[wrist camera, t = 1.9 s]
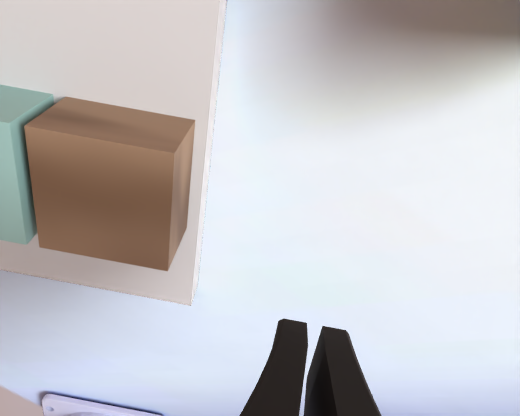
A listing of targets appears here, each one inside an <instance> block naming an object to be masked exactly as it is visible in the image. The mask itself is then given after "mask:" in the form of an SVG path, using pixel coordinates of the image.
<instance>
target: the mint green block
mask: <svg viewBox="0 0 520 416" xmlns="http://www.w3.org/2000/svg"><path fill="white" fill-rule="evenodd" d="M53 105H54V97H53V94H50V93H44V92H39V91H33V90H28V89H22V88H17V87H11V86H6V85H0V240H3V241H8V242H13V243H19V244H24V245H27V244H28V243H29V242H30V241H31V240H32V238H33V237H34V236H35V235H36V234H37V233H38V232H37V224H36V216H35V208H34V200H33V192H32V184H31V176H30V168H29V160H28V152H27V144H26V136H25V128H24V126H25V125H26V124H28V123H29V122H30V121H32V120H33V119H35V118H36V117H38V116H39V115H40V114H42V113H43V112H45V111H46V110H48V109H49V108H50V107H52V106H53Z"/></svg>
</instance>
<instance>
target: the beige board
mask: <svg viewBox="0 0 520 416" xmlns="http://www.w3.org/2000/svg"><path fill="white" fill-rule="evenodd" d="M226 4H227V0H0V85H6V86H11V87H17V88H22V89H28V90H33V91H39V92H44V93H50V94H53V97H54V105H55V104H56V103H58V102H59V101H60V100H62V99H63V98H65V97H72V98H77V99H83V100H88V101H94V102H99V103H105V104H110V105H116V106H121V107H127V108H132V109H138V110H143V111H149V112H154V113H160V114H165V115H171V116H176V117H182V118H187V119H193V120H195V131H194V143H193V156H192V169H191V181H190V194H189V206H188V219H187V229H186V231H185V233H184V235H183V238H182V240H181V242H180V245H179V247H178V249H177V252H176V254H175V256H174V258H173V261H172V263H171V265H170V268H169V270H168V271H163V270H157V269H152V268H147V267H141V266H136V265H131V264H125V263H120V262H115V261H109V260H104V259H99V258H93V257H88V256H83V255H77V254H72V253H67V252H61V251H56V250H51V249H45V248H40V247H39V240H38V233H37V234H36V235H35V236H34V237H33V238H32V240H31V241H30V242H29V243H28V244H27V245H24V244H19V243H13V242H8V241H3V240H0V270H4V271H10V272H15V273H20V274H26V275H31V276H36V277H42V278H47V279H52V280H57V281H63V282H68V283H73V284H79V285H84V286H89V287H95V288H100V289H105V290H110V291H116V292H121V293H126V294H132V295H137V296H142V297H147V298H153V299H158V300H163V301H169V302H174V303H179V304H185V305H190V306H191V304H192V301H193V298H194V295H195V292H196V289H197V286H198V279H199V269H200V259H201V249H202V239H203V230H204V220H205V210H206V200H207V190H208V181H209V171H210V161H211V151H212V142H213V132H214V122H215V112H216V102H217V93H218V83H219V73H220V63H221V53H222V44H223V34H224V24H225V14H226Z"/></svg>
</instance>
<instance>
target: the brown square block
mask: <svg viewBox="0 0 520 416" xmlns="http://www.w3.org/2000/svg"><path fill="white" fill-rule="evenodd" d="M24 128H25V136H26V144H27V152H28V160H29V168H30V176H31V184H32V192H33V200H34V208H35V216H36V224H37V232H38V240H39V247H40V248H45V249H51V250H56V251H61V252H67V253H72V254H77V255H83V256H88V257H93V258H99V259H104V260H109V261H115V262H120V263H125V264H131V265H136V266H141V267H147V268H152V269H157V270H163V271H168V270H169V268H170V265H171V263H172V261H173V258H174V256H175V254H176V252H177V249H178V247H179V245H180V242H181V240H182V238H183V235H184V233H185V231H186V229H187V219H188V206H189V194H190V181H191V169H192V156H193V143H194V131H195V120H193V119H187V118H182V117H176V116H171V115H165V114H160V113H154V112H149V111H143V110H138V109H132V108H127V107H121V106H116V105H110V104H105V103H99V102H94V101H88V100H83V99H77V98H72V97H65V98H63V99H62V100H60V101H59V102H58V103H56V104H55V105H53V106H52V107H50V108H49V109H48V110H46V111H45V112H43V113H42V114H40V115H39V116H38V117H36V118H35V119H33V120H32V121H30V122H29V123H28V124H26V125H25V126H24Z"/></svg>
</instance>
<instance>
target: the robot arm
mask: <svg viewBox="0 0 520 416" xmlns="http://www.w3.org/2000/svg"><path fill="white" fill-rule="evenodd" d="M307 348H308V337H307V323H304V322H299V321H294V320H288V319H282V320H280V321H278V326H277V330H276V334H275V338H274V343H273V347H272V350H271V353H270V356H269V358H268V361H267V363H266V365H265V367H264V370H263V372H262V374H261V376H260V378H259V381H258V383H257V385H256V387H255V389H254V390H253V392H252V394H251V396H250V398H249V400H248V402H247V403H246V405H245V407H244V409H243V411H242V412H241V414H240V416H299V410H300V403H301V395H302V387H303V380H304V372H305V364H306V356H307ZM42 407H43V414H44V416H161V415H157V414H152V413H147V412H142V411H136V410H131V409H126V408H121V407H116V406H110V405H105V404H100V403H95V402H90V401H85V400H79V399H74V398H69V397H64V396H59V395H53V394H47V395H45V396H44V397H43V399H42ZM304 416H381V414H380V412H379V410H378V407H377V405H376V403H375V401H374V399H373V396H372V394H371V392H370V390H369V387H368V385H367V383H366V380H365V378H364V375H363V373H362V370H361V368H360V365H359V362H358V360H357V357H356V354H355V351H354V349H353V346H352V343H351V339H350V336H349V334H348V332H347V331H346V330H341V329H336V328H331V327H325V326H323V327H322V330H321V333H320V336H319V340H318V343H317V346H316V350H315V353H314V356H313V359H312V363H311V366H310V369H309V373H308V376H307V383H306V395H305V408H304Z"/></svg>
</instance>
